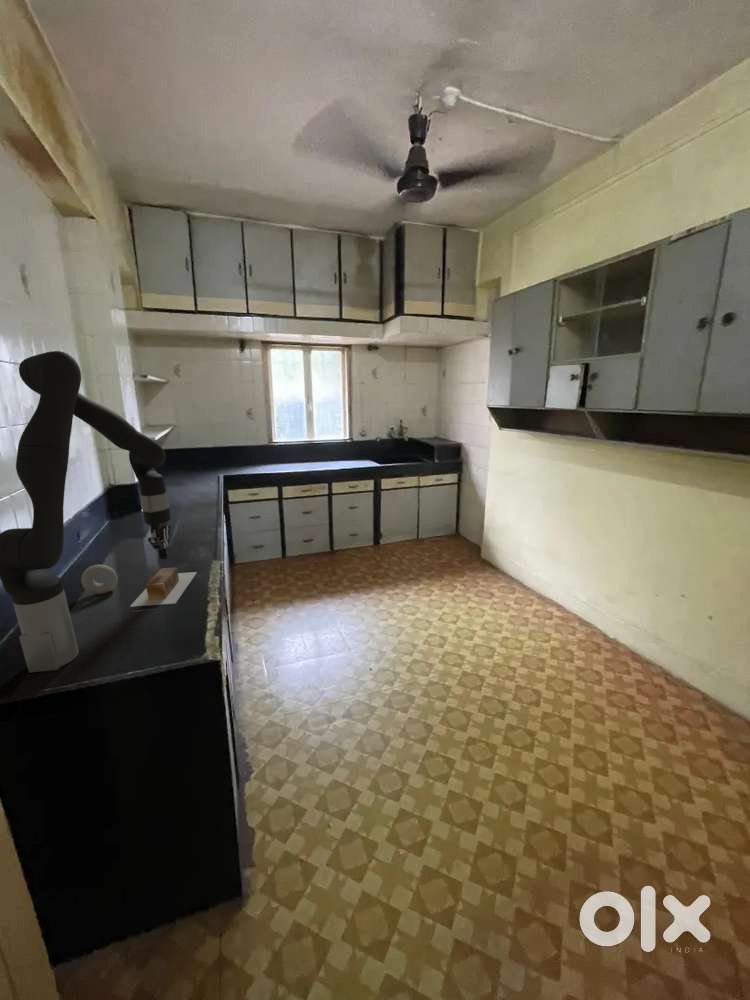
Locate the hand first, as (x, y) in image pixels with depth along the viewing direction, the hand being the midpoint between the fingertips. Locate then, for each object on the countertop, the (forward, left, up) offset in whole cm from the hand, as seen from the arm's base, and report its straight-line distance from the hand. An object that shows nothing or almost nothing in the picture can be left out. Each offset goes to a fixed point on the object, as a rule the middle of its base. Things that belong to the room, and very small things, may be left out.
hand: (164, 558), depth 131 cm
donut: (-2, +19, -10) cm, 22 cm away
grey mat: (-2, 0, -10) cm, 10 cm away
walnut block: (+3, 0, -7) cm, 7 cm away
